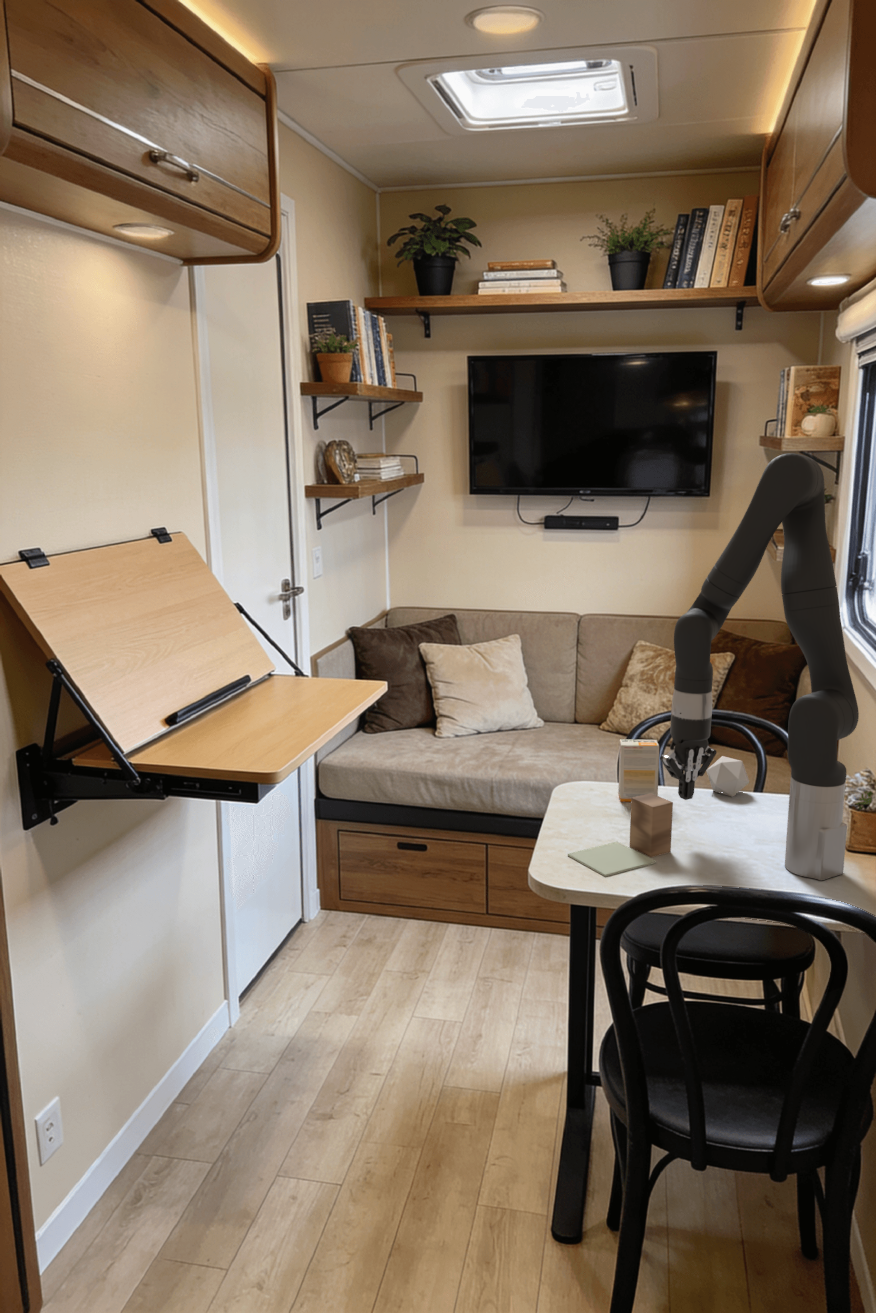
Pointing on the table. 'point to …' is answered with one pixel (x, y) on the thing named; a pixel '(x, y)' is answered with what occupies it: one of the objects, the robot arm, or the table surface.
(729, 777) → the die
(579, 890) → the table surface
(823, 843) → the robot arm
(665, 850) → the walnut block
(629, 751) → the supplement box
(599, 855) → the mat
